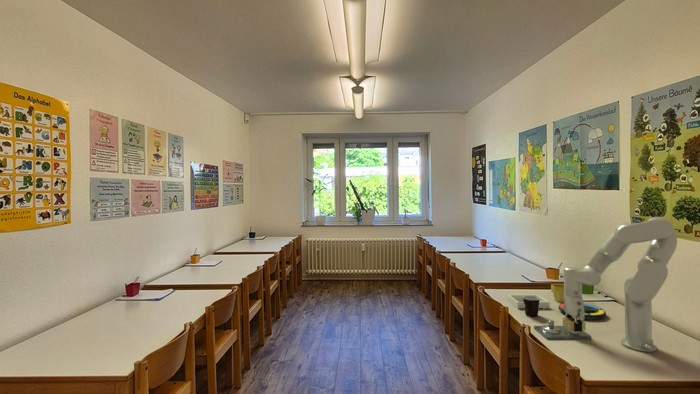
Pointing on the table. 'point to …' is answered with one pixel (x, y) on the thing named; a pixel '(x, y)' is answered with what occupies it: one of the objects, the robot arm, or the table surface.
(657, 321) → the table surface
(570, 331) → the stand
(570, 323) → the collar
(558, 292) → the plant pot
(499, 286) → the table surface
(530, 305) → the coffee mug
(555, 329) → the hub
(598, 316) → the electronic game
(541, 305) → the tray
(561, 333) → the gray rectangular plate
